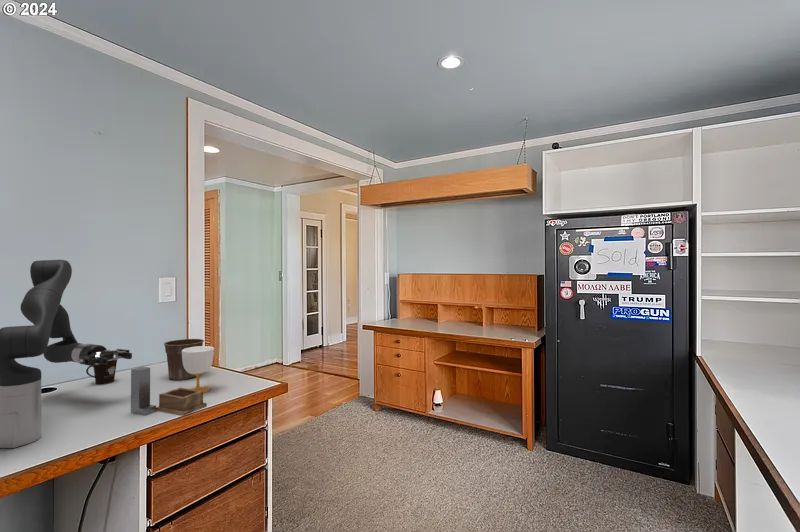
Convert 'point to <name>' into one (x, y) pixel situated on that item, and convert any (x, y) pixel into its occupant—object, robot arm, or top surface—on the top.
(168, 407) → the box
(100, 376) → the coffee mug
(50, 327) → the robot arm
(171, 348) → the plant pot
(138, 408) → the bracket
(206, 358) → the cup
